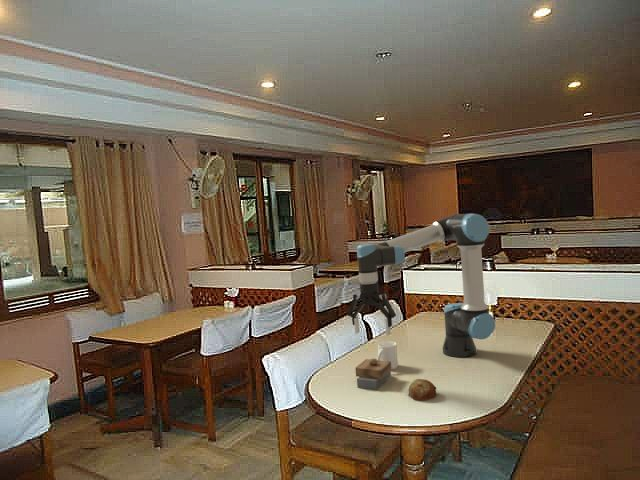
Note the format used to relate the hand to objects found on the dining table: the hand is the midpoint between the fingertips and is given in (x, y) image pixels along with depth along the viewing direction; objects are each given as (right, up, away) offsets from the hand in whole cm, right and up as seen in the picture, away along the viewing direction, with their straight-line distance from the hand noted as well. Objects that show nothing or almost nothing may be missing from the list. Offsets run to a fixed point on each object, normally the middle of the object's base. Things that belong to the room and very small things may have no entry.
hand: (372, 333), depth 193 cm
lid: (0, -16, -1) cm, 16 cm away
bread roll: (+17, -20, -17) cm, 31 cm away
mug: (+8, -18, +14) cm, 24 cm away
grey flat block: (+1, -19, 0) cm, 19 cm away
